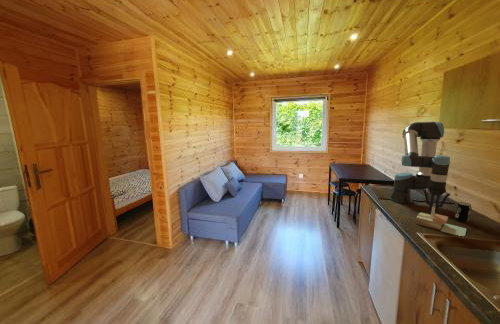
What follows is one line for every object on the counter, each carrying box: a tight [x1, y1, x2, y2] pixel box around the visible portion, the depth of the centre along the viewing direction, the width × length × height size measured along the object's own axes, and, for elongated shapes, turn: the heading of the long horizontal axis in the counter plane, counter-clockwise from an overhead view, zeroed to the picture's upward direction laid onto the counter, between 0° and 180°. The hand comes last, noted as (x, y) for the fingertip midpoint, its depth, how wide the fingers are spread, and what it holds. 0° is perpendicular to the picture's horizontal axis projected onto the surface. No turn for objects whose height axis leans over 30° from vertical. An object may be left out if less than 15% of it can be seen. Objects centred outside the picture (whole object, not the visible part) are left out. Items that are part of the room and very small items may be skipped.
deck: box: [414, 211, 444, 231], centre depth 133 cm, size 12×12×4 cm
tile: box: [432, 213, 449, 225], centre depth 128 cm, size 9×6×2 cm, turn 130°
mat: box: [440, 223, 467, 237], centre depth 124 cm, size 14×10×1 cm
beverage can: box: [454, 201, 472, 224], centre depth 135 cm, size 7×7×12 cm
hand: (432, 216), depth 131 cm, fingers closed
